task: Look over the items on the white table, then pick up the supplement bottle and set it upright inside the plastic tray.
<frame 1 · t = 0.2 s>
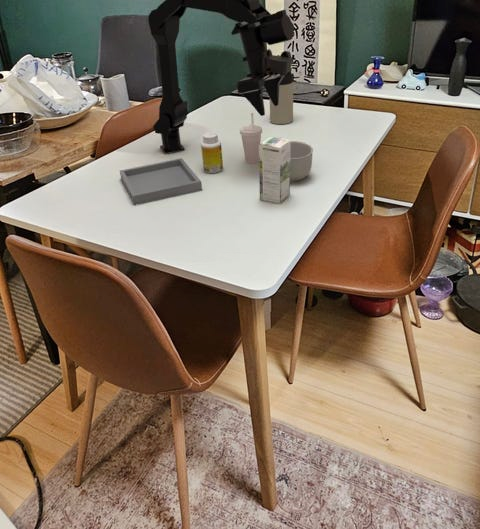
hand: (269, 110, 131), 15 cm above the table, tool pointing down, fingers open, 9 cm apart
travel mug: (281, 121, 171), on the table
teacup: (286, 177, 133), on the table
supplement bottle: (213, 170, 139), on the table
tray: (160, 184, 133), on the table
smoothie: (252, 162, 142), on the table
syrup box: (275, 198, 123), on the table
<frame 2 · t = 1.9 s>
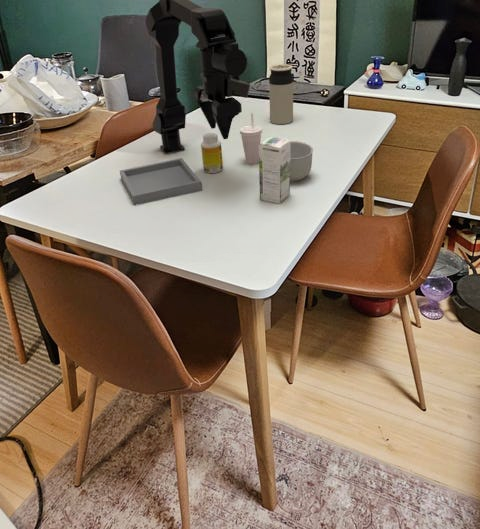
hand: (219, 133, 125), 13 cm above the table, tool pointing down, fingers open, 9 cm apart
nothing on the table moved.
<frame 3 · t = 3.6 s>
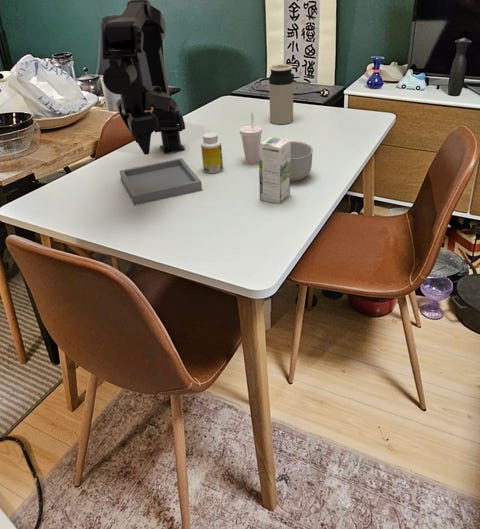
hand: (142, 148, 120), 13 cm above the table, tool pointing down, fingers open, 9 cm apart
nothing on the table moved.
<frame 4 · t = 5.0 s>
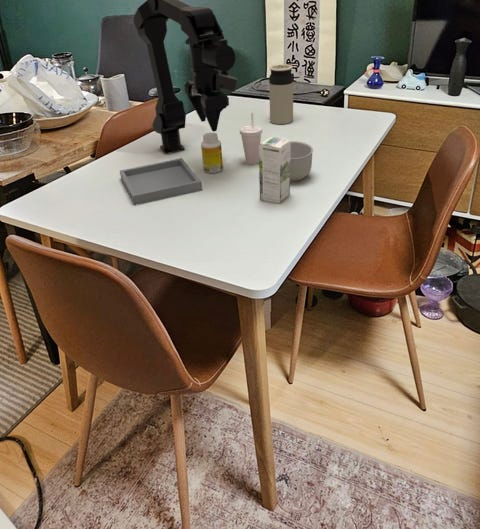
hand: (208, 126, 132), 13 cm above the table, tool pointing down, fingers open, 9 cm apart
nothing on the table moved.
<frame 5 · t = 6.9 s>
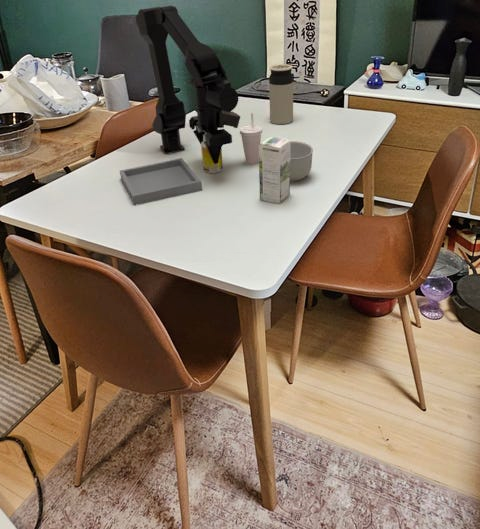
hand: (212, 159, 137), 3 cm above the table, tool pointing down, fingers closed on supplement bottle, 5 cm apart
supplement bottle: (213, 170, 139), on the table, touching gripper
everything else where it was.
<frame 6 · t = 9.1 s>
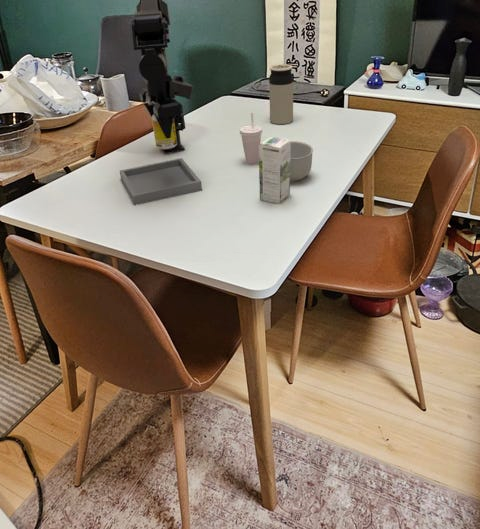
hand: (165, 134, 127), 13 cm above the table, tool pointing down, fingers closed on supplement bottle, 5 cm apart
supplement bottle: (167, 146, 129), point 10 cm above the table, touching gripper
everything else where it was.
when the fingers open (5 cm above the table, at t = 11.6 s): supplement bottle drops 1 cm, resting on tray.
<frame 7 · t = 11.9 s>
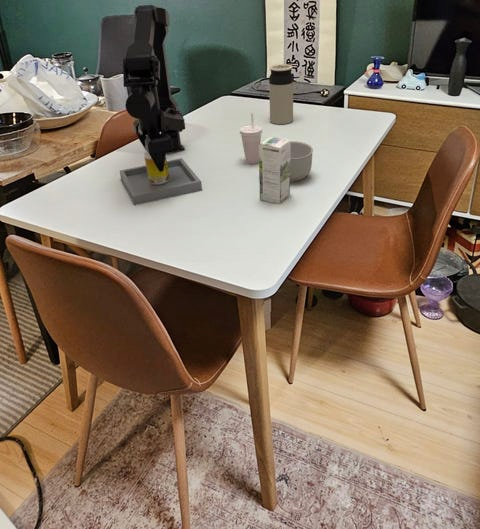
hand: (157, 165, 130), 5 cm above the table, tool pointing down, fingers open, 9 cm apart
supplement bottle: (160, 181, 133), point 1 cm above the table, touching tray
everything else where it was.
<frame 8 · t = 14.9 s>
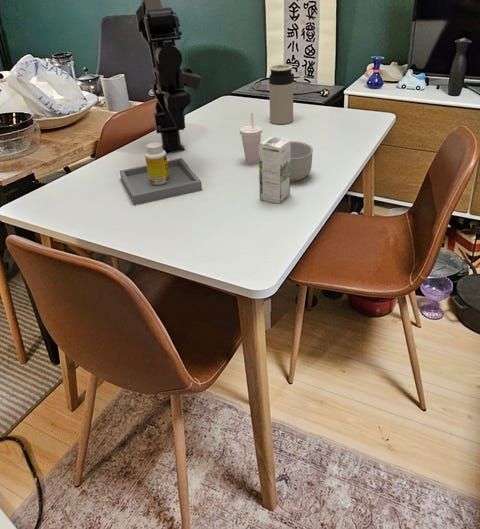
hand: (174, 123, 134), 13 cm above the table, tool pointing down, fingers open, 9 cm apart
nothing on the table moved.
at the end: supplement bottle inside the target area on the tray (0.1 cm from its centre), point 0.6 cm above the tray's base; supplement bottle tilted 0°; the gripper is holding nothing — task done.
